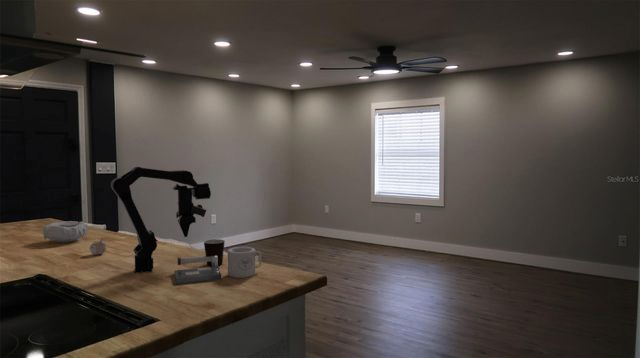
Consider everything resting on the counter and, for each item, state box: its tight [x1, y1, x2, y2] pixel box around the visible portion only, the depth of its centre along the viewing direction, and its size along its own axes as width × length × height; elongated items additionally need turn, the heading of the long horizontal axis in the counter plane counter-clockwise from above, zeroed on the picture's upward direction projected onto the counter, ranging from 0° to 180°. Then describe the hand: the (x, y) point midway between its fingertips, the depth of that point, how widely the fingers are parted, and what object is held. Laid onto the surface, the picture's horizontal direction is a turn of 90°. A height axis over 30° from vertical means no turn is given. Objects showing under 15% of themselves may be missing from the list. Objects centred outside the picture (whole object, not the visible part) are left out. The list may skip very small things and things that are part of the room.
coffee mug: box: [203, 238, 226, 267], centre depth 189 cm, size 12×9×10 cm
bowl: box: [42, 220, 88, 243], centre depth 233 cm, size 21×20×10 cm
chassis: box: [173, 266, 222, 285], centre depth 169 cm, size 16×12×2 cm
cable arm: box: [177, 255, 219, 268], centre depth 178 cm, size 16×3×5 cm, turn 110°
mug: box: [226, 246, 262, 279], centre depth 174 cm, size 14×11×10 cm
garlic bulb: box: [89, 238, 107, 256], centre depth 205 cm, size 7×6×8 cm
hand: (185, 236), depth 187 cm, fingers closed
